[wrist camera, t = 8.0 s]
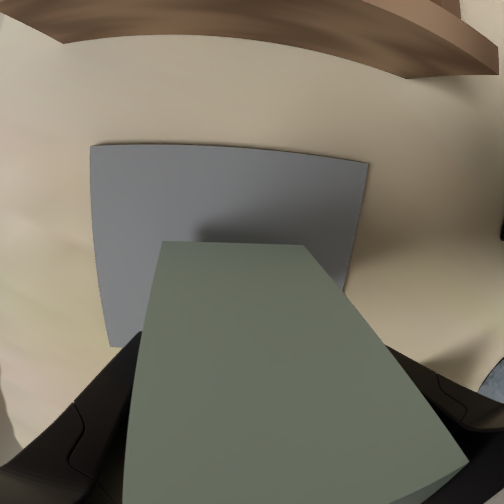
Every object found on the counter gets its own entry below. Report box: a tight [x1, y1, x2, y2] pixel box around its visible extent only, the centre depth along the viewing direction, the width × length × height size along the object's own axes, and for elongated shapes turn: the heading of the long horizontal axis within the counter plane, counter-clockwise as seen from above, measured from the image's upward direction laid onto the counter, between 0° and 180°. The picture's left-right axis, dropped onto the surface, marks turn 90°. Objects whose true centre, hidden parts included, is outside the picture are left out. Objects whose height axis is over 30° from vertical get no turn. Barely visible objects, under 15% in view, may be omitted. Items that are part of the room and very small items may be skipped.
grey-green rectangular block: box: [122, 241, 469, 504], centre depth 8 cm, size 6×3×10 cm, turn 84°
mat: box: [90, 144, 368, 348], centre depth 14 cm, size 12×10×1 cm
